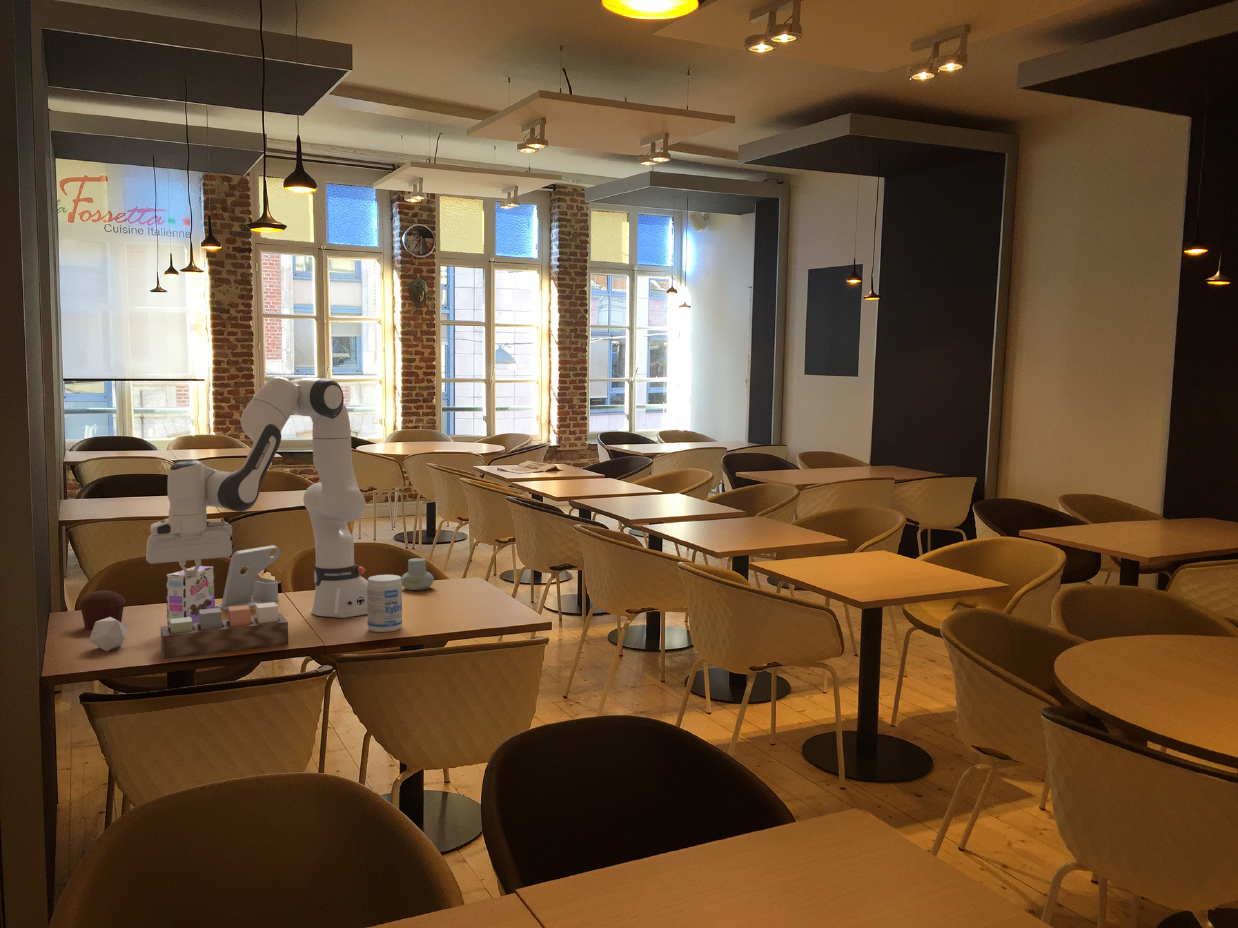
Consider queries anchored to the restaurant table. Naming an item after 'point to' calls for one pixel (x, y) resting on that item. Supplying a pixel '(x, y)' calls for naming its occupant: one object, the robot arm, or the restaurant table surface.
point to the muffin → (101, 607)
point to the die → (108, 634)
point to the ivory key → (266, 612)
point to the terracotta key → (239, 615)
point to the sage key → (181, 625)
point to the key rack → (223, 638)
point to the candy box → (190, 593)
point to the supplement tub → (384, 603)
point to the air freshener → (417, 575)
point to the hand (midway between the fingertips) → (190, 576)
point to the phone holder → (250, 579)
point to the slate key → (210, 618)
